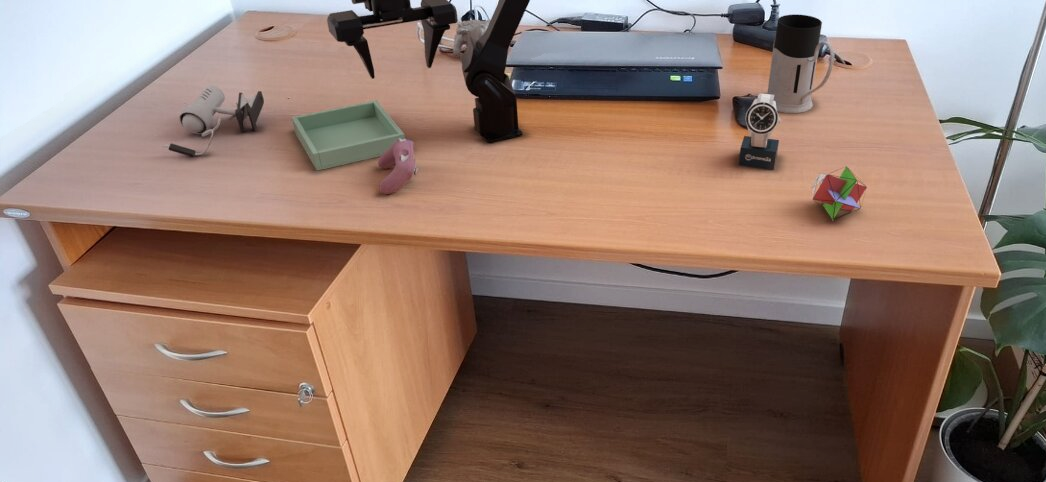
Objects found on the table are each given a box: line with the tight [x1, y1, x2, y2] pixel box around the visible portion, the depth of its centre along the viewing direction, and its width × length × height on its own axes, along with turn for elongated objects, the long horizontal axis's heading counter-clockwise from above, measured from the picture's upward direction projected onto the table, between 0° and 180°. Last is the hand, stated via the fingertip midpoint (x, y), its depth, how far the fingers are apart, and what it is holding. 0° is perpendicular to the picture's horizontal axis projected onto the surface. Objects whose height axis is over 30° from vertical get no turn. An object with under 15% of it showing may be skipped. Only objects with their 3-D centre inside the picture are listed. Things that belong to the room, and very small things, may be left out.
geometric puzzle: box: [811, 165, 868, 221], centre depth 116 cm, size 7×7×8 cm
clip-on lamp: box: [163, 85, 265, 158], centre depth 137 cm, size 12×6×18 cm
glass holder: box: [766, 14, 835, 114], centre depth 143 cm, size 9×14×15 cm, turn 25°
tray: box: [291, 100, 406, 172], centre depth 136 cm, size 15×16×3 cm
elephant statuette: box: [452, 18, 511, 58], centre depth 167 cm, size 9×12×8 cm
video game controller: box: [377, 138, 419, 195], centre depth 124 cm, size 10×5×7 cm, turn 14°
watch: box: [738, 93, 782, 171], centre depth 127 cm, size 6×8×11 cm
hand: (401, 72), depth 129 cm, fingers open, 9 cm apart
